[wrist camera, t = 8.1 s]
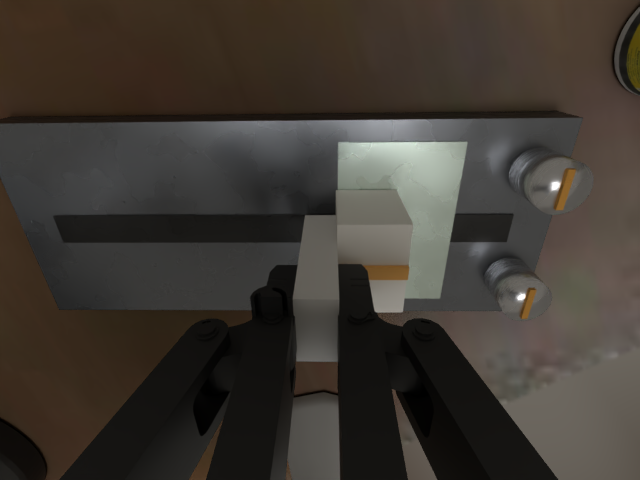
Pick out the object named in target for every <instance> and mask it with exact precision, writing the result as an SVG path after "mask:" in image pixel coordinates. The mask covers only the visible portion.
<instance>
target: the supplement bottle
mask: <svg viewBox="0 0 640 480" xmlns="http://www.w3.org/2000/svg"><path fill="white" fill-rule="evenodd" d="M614 66H615V71H616V74H617V77H618V79H619V81H620V83H621V84H622V85H623V86H624V87H625V88H626V89H627V90H628V91H630V92H632V93H634V94H636V95H639V96H640V7H639V8H638V9H637V10H636V11H635V12H634V14H633V15H632V16H631V17H630V19H629V20H628V22H627V23H626V24H625V26H624V28H623V30H622V32H621V34H620V36H619V39H618V42H617V45H616V49H615V56H614Z"/></svg>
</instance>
